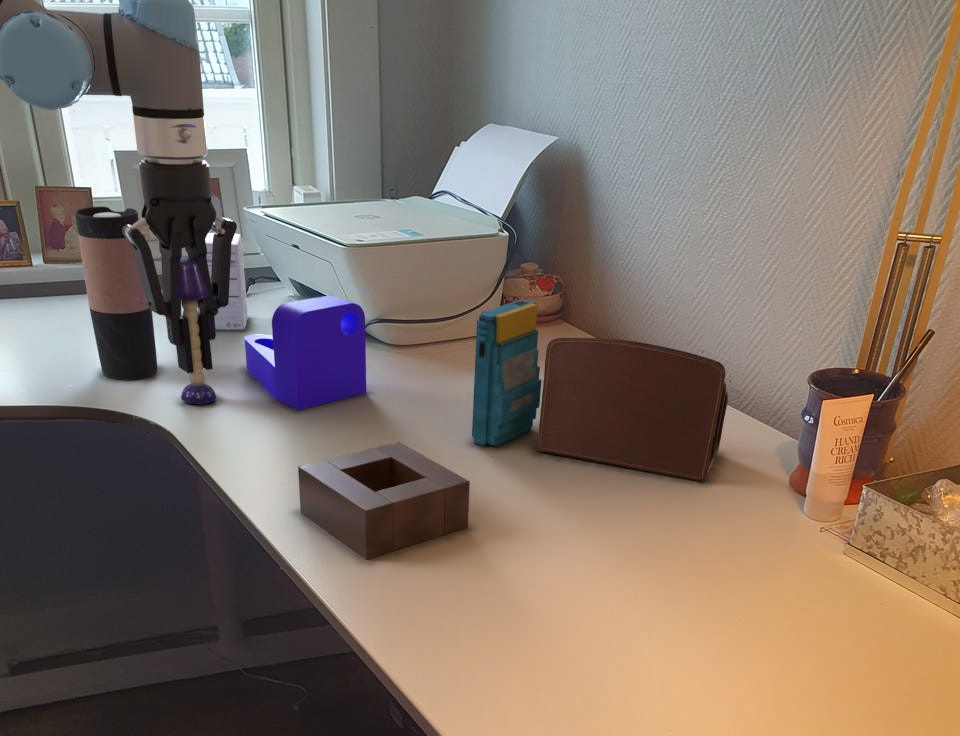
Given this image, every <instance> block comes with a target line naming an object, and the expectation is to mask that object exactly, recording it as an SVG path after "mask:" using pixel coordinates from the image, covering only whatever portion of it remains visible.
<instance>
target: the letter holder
mask: <svg viewBox="0 0 960 736" xmlns="http://www.w3.org/2000/svg"><path fill="white" fill-rule="evenodd" d="M725 381H726V369H725V366H724V365H723V363H721V362H720V361H717V360H714V359H712V358H708V357H705V356H703V355H699V354H697V353H692V352H688V351H684V350H680V349H677V348H672V347H666V346H661V345H657V344H652V343H646V342H641V341H633V340H627V339H617V338H604V337H603V338H602V337H557V338H556V337H555V338H553V339H551V340H550V341H549V342H548V344H547V346H546V350H545V359H544V373H543V384H542V393H541V403H540V404H541V405H540V414H539V415H540V416H539V423H538V424H539V425H538V426H539V427H538V437H537V443H536V445H537V452H539V453H543V454H550V455H556V456H562V457H567V458H574V459H579V460H584V461H589V462H594V463H595V462H596V463H600V464H606V465H611V466H616V467H621V468H625V469H631V470H636V471H643V472H648V473H652V474H657V475H663V476H669V477H674V478H679V479H685V480H690V481H697V482H701V483H705V482H706V480H707V478H708V476H709V473H710V471H711V469H712V467H713V464H714V463H715V460H716V458H717V455H718V453H719V450H720V445H721V440H722V434H723V428H724V422H725V417H726V412H727V407H728V403H729V393H728V391H727V389H728V388H727V383H726V382H725Z"/></svg>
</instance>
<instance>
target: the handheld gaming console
mask: <svg viewBox="0 0 960 736" xmlns="http://www.w3.org/2000/svg"><path fill="white" fill-rule="evenodd" d="M538 306H539V305H538V304H537V302H536V301H533V300H529V299H523V300H520V299H519V300H515V301H512V302H509V303H506V304H502V305H500V306H497V307H494V308H490V309H489V310H484V311H482V312H481V313H480V314H479V316H478V320H476V333H475V336H476V337H475V357H474V358H475V359H474V361H475V362H474V381H473V399H472V400H473V402H472V424H471V425H472V426H471V437H472V438H473V444H474V445H477V446H480V447H482V448H483V447H484V448H486V447H487V446H489V447H492V448H498V447H500V446H502V445H503V444H506V443H508V442H510V441H512V440H514V439H516V438H518V437H520V436H522V435H524V434H526V433H529V432H530V431H531V430H532V428H533V425H534V420H535V419H537V410H538V409H539V408H540V406H541V405H540V404H541V403H540V402H541V394H542V393H541V391H542V379H540V372H541V366H538V363H539V362H538V361H539V352H540V351H539V349H538V344H539V343H538V342H539V331H538V330H537V321H538V320H537V318H538Z"/></svg>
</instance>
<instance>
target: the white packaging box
mask: <svg viewBox="0 0 960 736" xmlns="http://www.w3.org/2000/svg"><path fill="white" fill-rule="evenodd" d="M213 236H214V233H213V232H208V234H207V236H206V238H205V242H206V248H207V255H206V258H207V264H208V269H209V275H210V281H211V272H212V247H213ZM243 253H244V252H243V243H242V235H241V233H235V234H234V237H233V240H232V243H231V263H230V283H229V302H228V305H227V306H226V307H221V308H219V309H218V314H217V315H215V316H214V318H215V329H216V330H223V331H224V330H225V331H229V330H230V331H243V330H245V329H246V325H247V321H248V317H249V312H248V300H247V291H246V290H247V288H246V279H245V267H244V266H245V265H244V254H243ZM196 310H197V311H199V312H200V310H199V308H198V306H197V308H196Z"/></svg>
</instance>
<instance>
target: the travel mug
mask: <svg viewBox="0 0 960 736" xmlns="http://www.w3.org/2000/svg"><path fill="white" fill-rule="evenodd" d="M74 217H75V224H76V230H77V238H78V243H79V250H80V257H81V263H82V270H83V276H84V283H85V289H86V296H87V301H88V308H89V313H90V319H91V324H92V329H93V333H94V339H95V343H96V348H97V353H98V358H99V363H100V368H101V372H102V375H103V376H104V377H107V378H109V379H112V380H120V381H122V380H123V381H131V380H141V379H146V378H149V377H152V376H154V375H155V374H157V372H158V370H159V369H158V358H157V357H158V356H157V347H156V337H155V328H154V317H153V311H152V310H150V309H149V307H148V304H147V301H146V297H145V293H144V290H143V286H142V282H141V279H140V275H139V271H138V267H137V264H136V260H135V256H134V253H133V249H132V246H131V245H130V243H129V242H128V240H127V239H126V237H125V236H124V234H123V232H122V228H123V227H124V226H125V225H129V226H131V225H133V224H134V223H135V222H137V221H138V220H140V215H139V211H138V210H136V209H134V208H131V207H128V208H126V209H125V210H124V211H115V210H112V209H111V208H110V207H108V206H90V207H89V206H88V207H83V208H79V209H77V210H75V212H74Z"/></svg>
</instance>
